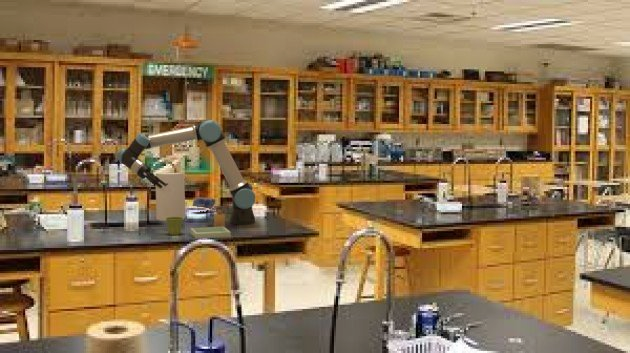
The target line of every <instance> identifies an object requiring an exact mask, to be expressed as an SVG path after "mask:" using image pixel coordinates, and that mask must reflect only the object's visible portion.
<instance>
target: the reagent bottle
mask: <svg viewBox="0 0 630 353" xmlns="http://www.w3.org/2000/svg"><path fill="white" fill-rule="evenodd" d="M222 209H223V206H221V205H218V206H216V210H217V213H213V222H214V223H213V227H225V228H226V213H223V212H222V211H223V210H222Z"/></svg>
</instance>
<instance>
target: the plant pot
mask: <svg viewBox="0 0 630 353" xmlns="http://www.w3.org/2000/svg"><path fill="white" fill-rule="evenodd" d="M184 220H185V219H184V218H183V217H167V218H166V221H165V222H166V224H167V229H168V235H171V236H173V235H175V236H177V235H178V236H179V235H181V232H182V226H183V225H182V223H183V221H184Z"/></svg>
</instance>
